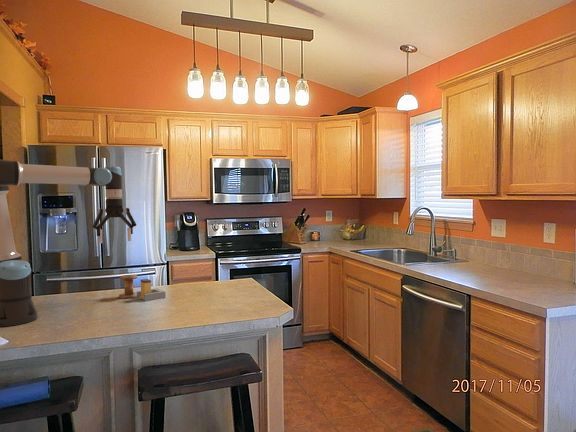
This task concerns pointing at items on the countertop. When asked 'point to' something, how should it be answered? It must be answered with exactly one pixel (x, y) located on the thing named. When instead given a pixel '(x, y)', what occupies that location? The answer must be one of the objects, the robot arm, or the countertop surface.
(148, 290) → the yellow upright block
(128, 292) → the bobbin
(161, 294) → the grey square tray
